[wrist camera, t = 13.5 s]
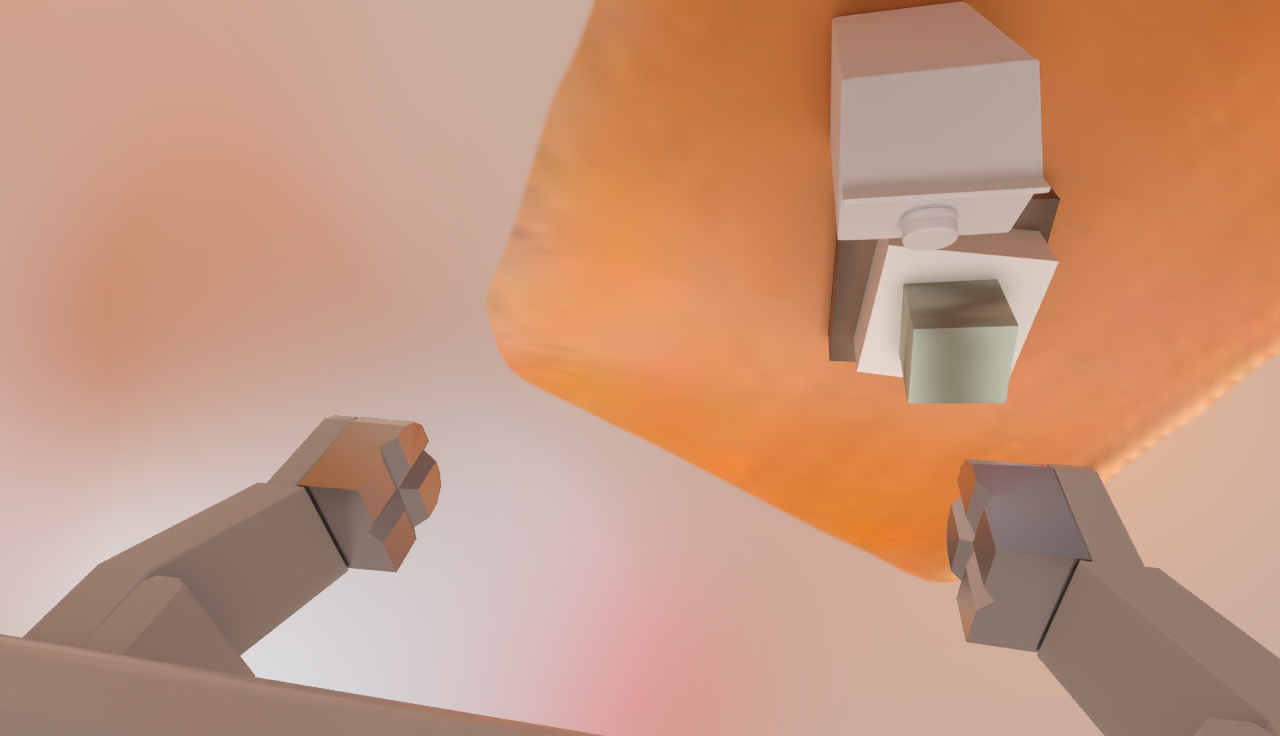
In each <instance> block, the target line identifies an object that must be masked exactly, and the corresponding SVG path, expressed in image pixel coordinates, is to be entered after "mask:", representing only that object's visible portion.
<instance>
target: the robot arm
mask: <svg viewBox="0 0 1280 736" xmlns="http://www.w3.org/2000/svg"><path fill="white" fill-rule="evenodd" d="M428 441H429V440H428V438H427V435H426V433H425V431H424V428H423V426H422V425H420V424H418V423H415V422H409V421H398V420H387V419H377V418H366V417H360V418H357V417H349V416H339V415H334V416H331V417H328V418H326V419H324V420H323V421H322V422H321V424H320V425H319V426H318V427H317V428H316V429H315V430H314V431H313V432H312V433H311V435H310V436H309V437H308V438H307V439H306V440H305V441H304V442H303V444H302V445H301V446H300V447H299V448H298V449H297V450H296V451H295V452H294V453H293V454H292V456H291V457H290V458H289V459H288V460H287V461H286V462H285V463H284V464H283V466H282V467H281V468H280V469H279V470H278V471H277V472H276V473H275V474H274V475H273V477H272V478H271V479H270V480H269V481H268V482H267V483H256V484H254V485H252V486H251V487H248V488H247V489H245V490H243V491H241V492H239V493H237V494H235V495H233V496H231V497H229V498H227V499H226V500H223V501H221V502H219V503H217V504H215V505H213V506H212V507H210V508H208V509H206V510H204V511H202V512H200V513H198V514H196V515H194V516H192V517H190V518H188V519H187V520H184V521H182V522H180V523H179V524H176V525H174V526H173V527H171V528H169V529H167V530H165V531H163V532H161V533H159V534H157V535H155V536H153V537H151V538H149V539H147V540H145V541H143V542H141V543H139V544H137V545H135V546H134V547H132V548H130V549H128V550H126V551H124V552H122V553H120V554H118V555H116V556H114V557H112V558H110V559H108V560H107V561H104V562H103V563H100V564H99V565H97V566H96V567H95V568H94V569H93V570H92V571H91V572H90V573H89V574H88V575H87V576H86V577H85V578H84V579H83V580H82V581H81V582H80V583H79V584H78V585H77V586H76V587H75V588H74V589H72V590H71V591H70V592H69V593H68V594H67V595H66V596H65V597H64V598H63V599H62V600H61V601H60V602H59V603H58V604H57V605H56V606H55V607H54V608H53V609H52V610H51V611H50V612H49V613H48V614H46V615H45V616H44V618H42V619H41V620H40V621H39V622H38V623H37V624H36V625H35V626H34V627H33V628H32V629H31V630H30V631H29V632H28V633H27V634H26V635H25V636H24V637H23V638H19V637H13V636H7V635H2V634H0V736H603V735H597V734H591V733H585V732H579V731H573V730H567V729H561V728H555V727H549V726H543V725H537V724H531V723H525V722H519V721H513V720H507V719H501V718H495V717H489V716H483V715H477V714H471V713H465V712H459V711H453V710H447V709H441V708H435V707H430V706H424V705H417V704H412V703H406V702H400V701H393V700H387V699H381V698H376V697H369V696H364V695H358V694H352V693H346V692H339V691H334V690H328V689H322V688H316V687H310V686H304V685H298V684H292V683H286V682H280V681H275V680H268V679H263V678H256V677H255V675H254V674H253V672H252V671H251V670H250V668H249V667H248V666H247V664H246V663H245V662H244V660H243V659H242V658H241V657H240V655H241V654H243V653H244V652H245V651H246V650H248V649H249V648H250V647H251V646H253V645H254V644H255V643H257V642H258V641H259V640H260V639H262V638H263V637H264V636H265V635H267V634H268V633H269V632H271V631H272V630H273V629H275V628H276V627H277V626H278V625H279V624H281V623H282V622H283V621H285V620H286V619H287V618H289V617H290V616H291V615H292V614H294V613H295V612H296V611H297V610H299V609H300V608H301V607H303V606H304V605H305V604H306V603H308V602H309V601H310V600H311V599H313V598H314V597H315V596H317V595H318V594H319V593H320V592H321V591H323V590H324V589H325V588H327V587H328V586H329V585H330V584H332V583H333V582H334V581H336V580H337V579H338V578H339V577H341V576H342V575H343V574H345V573H346V572H347V571H348V568H356V569H367V570H378V571H389V572H397V570H398V569H399V567H400V565H401V564H402V562H403V560H404V559H405V557H406V555H407V554H408V552H409V550H410V549H411V547H412V545H413V544H414V542H415V540H416V535H415V529H414V527H415V526H417V525H418V524H420V523H421V522H423V521H424V520H426V519H427V518H429V517H430V515H431V513H432V511H433V510H434V508H435V506H436V504H437V501H438V496H439V492H440V488H441V480H440V471H439V468H438V465H437V462H436V461H435V460H434V459H433V458H432V457H431V456H430V455H428V454H427V453H426V452H425V451H424V449H425V447H426V445H427V443H428ZM957 481H958V485H959V490H960V494H961V497H960V498H958V499H957V500H956V501H954V502H953V503H951V508H950V512H949V517H948V523H947V550H948V558H949V563H950V568H951V571H952V572H953V573H954V574H955V575H956V576H957V577H958V578H959V579H960V580H961V585H960V589H959V592H958V596H957V602H958V606H959V611H960V616H961V620H962V625H963V630H964V634H965V639H966V642H970V643H977V644H984V645H991V646H998V647H1004V648H1011V649H1018V650H1024V651H1031V652H1038V654H1037V656H1038V657H1039V659H1040V660H1041V661H1042V662H1043V663H1044V664H1045V666H1046V667H1047V668H1048V669H1049V670H1050V672H1051V673H1052V674H1053V675H1054V676H1055V677H1056V679H1057V680H1058V681H1059V682H1060V683H1061V685H1062V686H1063V687H1064V688H1065V689H1066V691H1067V692H1068V693H1069V694H1070V695H1071V696H1072V698H1073V699H1074V700H1075V701H1076V702H1077V704H1079V706H1080V707H1081V708H1082V709H1083V711H1084V712H1085V713H1086V714H1087V715H1088V716H1089V718H1090V719H1091V720H1092V721H1093V722H1094V724H1095V725H1096V726H1097V727H1098V728H1099V730H1100V731H1101V732H1102V733H1103V734H1104V735H1105V736H1280V658H1278V657H1277V656H1275V655H1274V654H1273V653H1271V652H1270V651H1269V650H1267V649H1266V648H1265V647H1263V646H1262V645H1261V644H1259V643H1258V642H1257V641H1255V640H1254V639H1252V638H1251V637H1250V636H1249V635H1247V634H1246V633H1245V632H1243V631H1242V630H1241V629H1239V628H1238V627H1237V626H1235V625H1234V624H1233V623H1231V622H1230V621H1228V620H1227V619H1226V618H1225V617H1223V616H1222V615H1221V614H1219V613H1218V612H1216V611H1215V610H1214V609H1212V608H1211V607H1210V606H1208V605H1207V604H1206V603H1204V602H1203V601H1202V600H1200V599H1199V598H1198V597H1196V596H1195V595H1194V594H1192V593H1191V592H1190V591H1188V590H1187V589H1186V588H1184V587H1183V586H1181V585H1180V584H1179V583H1177V582H1176V581H1175V580H1173V579H1172V578H1171V577H1169V576H1168V575H1167V574H1165V573H1164V572H1163V571H1161V570H1160V569H1159V568H1150V567H1145V566H1144V564H1143V562H1142V560H1141V558H1140V556H1139V555H1138V552H1137V550H1136V549H1135V546H1134V545H1133V543H1132V540H1131V538H1130V537H1129V534H1128V533H1127V530H1126V528H1125V526H1124V525H1123V523H1122V520H1121V519H1120V516H1119V515H1118V513H1117V510H1116V508H1115V507H1114V505H1113V503H1112V501H1111V499H1110V496H1109V494H1108V493H1107V490H1106V488H1105V486H1104V484H1103V482H1102V481H1101V479H1100V477H1099V475H1098V473H1097V471H1095V470H1094V469H1093V468H1091V467H1090V466H1072V465H1053V464H1047V465H1043V464H1028V463H1012V462H995V461H979V460H965V461H964V463H963V465H962V466H961V469H960V473H959V476H958V480H957Z"/></svg>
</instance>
